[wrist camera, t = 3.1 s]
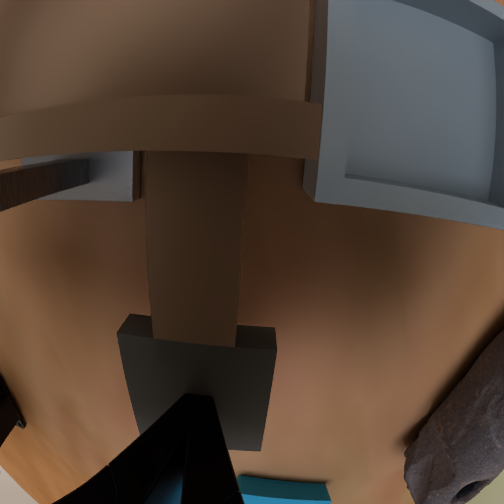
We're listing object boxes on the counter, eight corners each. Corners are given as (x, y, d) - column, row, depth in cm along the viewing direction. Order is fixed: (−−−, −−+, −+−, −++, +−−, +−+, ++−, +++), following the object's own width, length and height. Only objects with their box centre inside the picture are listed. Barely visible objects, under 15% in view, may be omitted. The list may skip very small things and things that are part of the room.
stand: (33, 196, 12) (-60, 231, 6) (56, -11, 8) (-17, -48, 3) (140, 198, 12) (52, 242, 6) (165, -38, 8) (116, -114, 3)
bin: (302, 188, 12) (369, 265, 4) (315, -24, 9) (359, -154, 1) (488, 217, 12) (612, 282, 4) (495, 37, 9) (608, 10, 1)
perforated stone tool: (500, 283, 13) (580, 349, 6) (538, 303, 13) (602, 358, 7) (373, 460, 18) (392, 536, 11) (423, 459, 18) (446, 524, 11)
